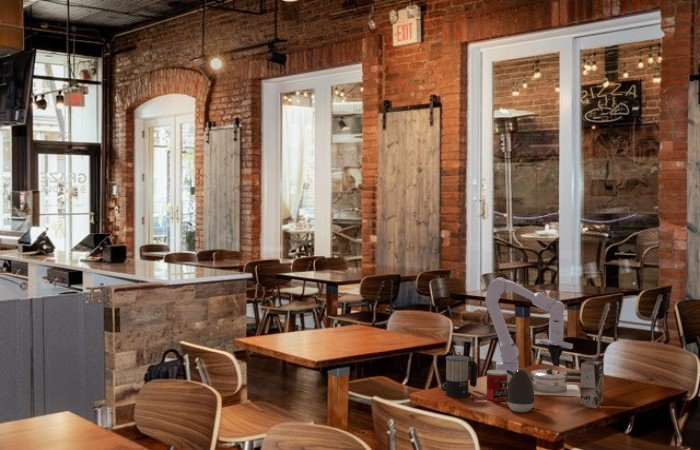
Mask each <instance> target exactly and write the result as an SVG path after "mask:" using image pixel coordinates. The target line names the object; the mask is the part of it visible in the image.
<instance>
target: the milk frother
mask: <svg viewBox="0 0 700 450" xmlns="http://www.w3.org/2000/svg"><path fill="white" fill-rule="evenodd" d="M445 360H446V365H445V367H446V369H445V370H446V371H445V373H446V375H445V376H446V378H445V380H446V381H444V382H443V383H441V384H440V389H442V390H443V391H445V396H447V397H451V398H465V397H469V395H470V394H469V386H470V387H473V388H475V387H477V384H478V368H479V366H478V364H477V363H478V362H476V361H475V360H473V359H470V358H469V357H468V356H466V355H458V354H457V355H448V356H445ZM469 366H470V367H469ZM469 368H470V371H469Z"/></svg>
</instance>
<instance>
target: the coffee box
mask: <svg viewBox="0 0 700 450" xmlns="http://www.w3.org/2000/svg"><path fill="white" fill-rule="evenodd" d="M604 363H605V362H604V361H603V360H602V361H601V360H589V359H588V360H585V361H583V362H581V364H580V372H581V377H580V378H581V383H580V389H579V390H580V396H579V404H580V405H581V407H583V408H591V409H597V408H599V407H600V406H601V403H603V402H604V373H605V372H604V365H605V364H604Z"/></svg>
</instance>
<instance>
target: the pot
mask: <svg viewBox="0 0 700 450" xmlns="http://www.w3.org/2000/svg"><path fill="white" fill-rule="evenodd" d="M529 376H530V378H531V381H532V384H533V388H534V391H538V392H543V393H563V392H566V391H567V385H568V383H580V384H581V377H577V376H568V377H567V378H564V379H543V378H538V377H534V376H532V375H531V374H529Z"/></svg>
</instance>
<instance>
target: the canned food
mask: <svg viewBox="0 0 700 450" xmlns="http://www.w3.org/2000/svg"><path fill="white" fill-rule="evenodd" d="M507 389H508V383H507V372H506V371H503V370H496V369H489V370H487V371H486V400H487V401H488V402H490V403H496V404H500V403H501V404H502V403H505V402H506V395H507Z"/></svg>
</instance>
